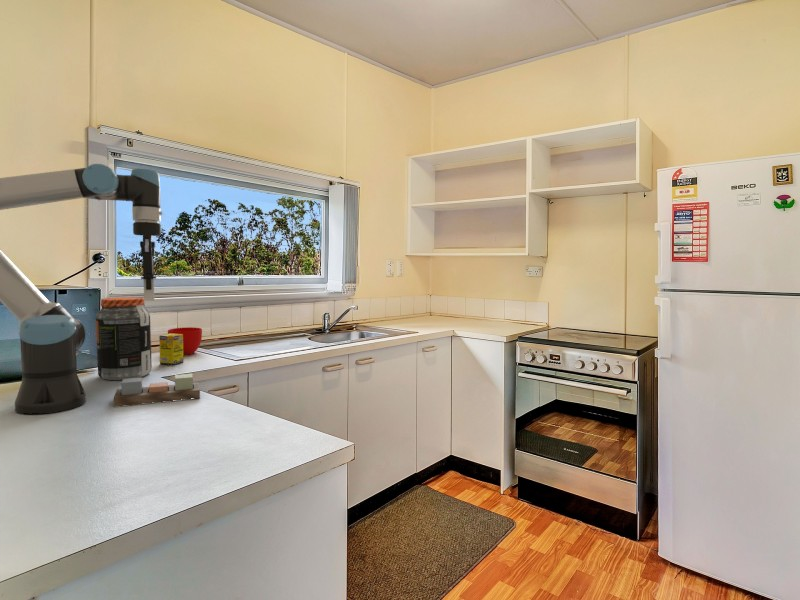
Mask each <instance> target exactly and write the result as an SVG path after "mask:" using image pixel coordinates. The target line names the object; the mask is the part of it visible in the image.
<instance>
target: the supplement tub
mask: <svg viewBox="0 0 800 600" xmlns="http://www.w3.org/2000/svg"><path fill="white" fill-rule="evenodd" d="M100 300H101V301H100V306H101V308H100V309H99V311H98V312H97V313H96V316H95V331H96V332H95V333H96V357H97V376H98V377H99V378H100V379H102V380H108V381H122V380H123V379H130V378H142V377H144V376H146V375H148V374H150V373H151V371H152V367H153V366H152V364H153V363H152V362H153V361H152V335H151V334H152V333H151V330H152V329H151V315H150V312H149V310H148V309H147V308H146V306H145V301H144V297H110V298H109V297H108V298H101V299H100Z"/></svg>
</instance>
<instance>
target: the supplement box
mask: <svg viewBox="0 0 800 600" xmlns="http://www.w3.org/2000/svg"><path fill="white" fill-rule="evenodd" d="M158 337H159V339H158V340H159V364H160V365H161V366H163V365H164V366H175V365H179V364H182V363H184V355H183V334H168V333H166V334H162V335H159V336H158ZM160 365H159V366H160Z"/></svg>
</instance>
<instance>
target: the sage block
mask: <svg viewBox="0 0 800 600" xmlns="http://www.w3.org/2000/svg"><path fill="white" fill-rule="evenodd" d="M193 383H194V377H193V373H184V374H175V375H174V385H175V390H187V389H193Z"/></svg>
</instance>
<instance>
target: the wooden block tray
mask: <svg viewBox="0 0 800 600" xmlns="http://www.w3.org/2000/svg"><path fill="white" fill-rule="evenodd" d="M191 398H200V399H201V389H200V383H199V382H193V389H187V390H175V384H168V391H164V392H153V393H149V386H142V393H141V394H130V395H122V389H121V388H119V389H116V392H115V394H114V395H113V407H114V406H120V407H124V406H123V405H130V406H134V405H133V404H140V405H143V404H142V403H151V404H153V403H152V402H161V403H164V402H163V401H171V402H174V401H173V400H181V399H191Z"/></svg>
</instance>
